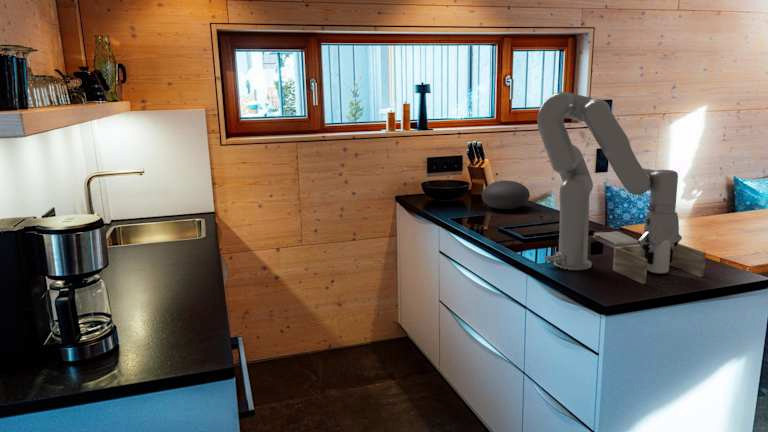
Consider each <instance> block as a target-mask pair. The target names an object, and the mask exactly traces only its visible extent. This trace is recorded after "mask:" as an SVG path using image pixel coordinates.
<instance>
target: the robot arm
mask: <svg viewBox="0 0 768 432" xmlns="http://www.w3.org/2000/svg"><path fill="white" fill-rule="evenodd" d="M565 119H571V120H574V121H579V122H582V123H584V124H585V125H586V127H587V128H588V131H590V134H591V135H592V136H593V138H594V139H595V141H596V143H597V144H598V146H599V147H600V149H601V151H602V153H603V155H604V156H605V158H606V159H607V161H608V163H609V165H610V166H611V168H612V170H613V172H614V173H615V175H616V176H617V178H618V180H619V181H620V182H621V184H622V186H623V187H624V189H625V191H627V192H628V194H631V195H634V196H641V195H643V194H646V193H647V192H648V191H650V194H649V206H647V207H646V210H647V211H648V212H647V214H646V217H645V222H644V228H643V234H642V236H641V237H639V239H637V240H638V243H639V244H640V245H641V247H642V248H643V250H644V251H645V258H646V259H648V261H647V263H648V264H653V256H654V253H653V252H652V251H653V248H654V246H655V245H660V244H662V242H663V241H665V240H668V241H670V243H671V248H670V261H669V262H672V256H673V250H675V247H676V246H677V245H678V243H680V241H682V240H683V237H682V235H681V234H680V225H679V223H680V222H679V215H678V212H676V207H677V206H676V205H677V194H678V193H677V192H678V183H679V174H678V172H677V171H675V170H672V169H649V168H648V169H647V168H643V167H642V165H641V164H640V162H639V161H638V160H639V159H637V157H636V155H635V154H634V151H633V150H632V146H631V143H630V140H629V137H628V136H627V134H626V133H625V131H624V129H623V128H622V126H621V125H620V124H619V122H618V120H617V119H616V117H615V116H614V113H613V112H612V111H611V106H610V105H609V103H608V102H607V101H605V100H603V99H600V98H594V97H589V96H585V95H582V94H581V95H579V94H577V93H571V92H566V91H560V92H555V93H552V94H551V95H550V96H548V97H547V98H546V99H545V100H544V101H543V103H542V104H541V106H540V107H539V110H538V113H537V119H536V121H537V129H538V132H539V134H540V137H541V141H542V143H543V146H544V149H545V150H546V154H547V156H548V159H549V163H550V165H551V168H552V169H553V170H554V171H555V172H557V173H558V174H559V175H560V179H561V180H562V183H561V185H560V187H559V196H558V197H559V236H558V251H556V252H555V254H553V255H547V256H545V262H547V263H549V262H553V265H554V266H555V267H556V266H557V268H558V267H560V268H559V269H562V268H563V269H562V270H566V269H568V270H567V271H584V270H589V269H591V267H592V265H593V262H592V261H590V260H589V259H588V252H589V251H588V249H589V248H588V245H589V227H590V223H589V221H590V195H591V193H592V190H593V187H594V183H593V179H592V177H591V174H590V171H589V168H588V166H587V163H586V161H585V159H584V156H583V154H582V152H581V150H580V148H579V147H577V146H576V145H574V144H573V143H572V141H571V138H570V135H569V132H568V130H567V127H566V125H565V123H564V122H565ZM649 244H651V245H650V247H649Z"/></svg>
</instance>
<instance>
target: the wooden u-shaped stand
mask: <svg viewBox="0 0 768 432" xmlns="http://www.w3.org/2000/svg"><path fill="white" fill-rule="evenodd" d="M706 256H707V252H705V251H702V250H698V249H697V248H693V247H690V246H687V245H684V244H681V243H680V242H678V245H677V246H676V247H675V250H673V256H672V262H669V266H671V267H674V268H677V269H679V270H682V271H684V272H686V273H689V274H691V275H694V276H697V277H698V278H699V277H700V278H703V277H705V268H706ZM612 260H613V261H612V270H613V272H615V273H618V274H621V275H623V276H625V277H627V278H629V279H631V280H633V281H635V282H637V283H640V284H641V285H644V284H645V285H646V284H647V273H648V270H647V261H648V259H646V258H645V251H644V250H643V248H642V247H641V245H630V246H620V247H614V248H613V259H612Z"/></svg>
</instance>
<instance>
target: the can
mask: <svg viewBox="0 0 768 432" xmlns="http://www.w3.org/2000/svg"><path fill="white" fill-rule="evenodd" d="M650 245H651V244H649V247H650ZM670 248H671V243H670V241H668V240H665V241H663V242H662V244H660V245H655V246H654V248H653V251H652V252H653V253H654V256H653V264H648V263H647V272H649V273H652V274H653V273H654V274H658V275H659V274H660V275H661V274H663V275H664V274H666V273H668V272H669V271H670V265H669V261H670Z"/></svg>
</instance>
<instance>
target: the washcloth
mask: <svg viewBox="0 0 768 432" xmlns="http://www.w3.org/2000/svg"><path fill="white" fill-rule="evenodd" d="M592 237H593V238H595V239H594V240H596V239H597V240H596V241H598V242H600V243H602V244H604V245H607V246H608V247H610V248H613V249H614V247H620V246H630V245H640V244H639V243H638V240H639V239H636V238H633V237H631V236H630V235H627V234H624V233H623V232H620V231H618V230H617V231H609V232H607V231H606V232H605V231H599V232H594V233H593V235H592Z"/></svg>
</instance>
